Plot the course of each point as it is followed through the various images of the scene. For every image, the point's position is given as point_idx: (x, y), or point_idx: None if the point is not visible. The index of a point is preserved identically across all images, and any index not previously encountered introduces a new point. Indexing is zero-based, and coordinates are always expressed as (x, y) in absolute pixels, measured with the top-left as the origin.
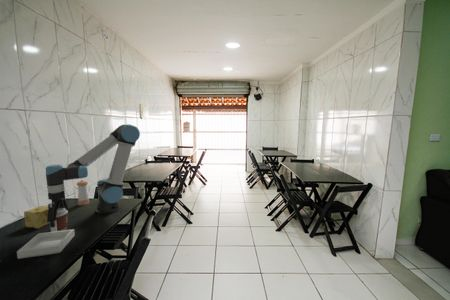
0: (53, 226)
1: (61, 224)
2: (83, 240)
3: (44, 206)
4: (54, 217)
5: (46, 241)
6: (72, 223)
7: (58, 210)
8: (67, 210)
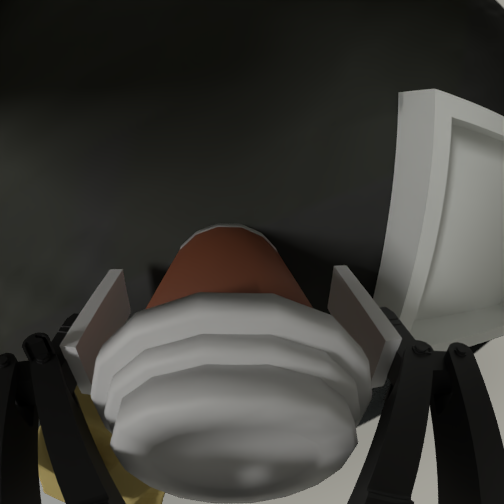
0: (392, 312)
1: (288, 272)
2: (474, 33)
3: (45, 486)
4: (431, 379)
5: (435, 269)
6: (111, 214)
7: (224, 463)
8: (43, 344)
